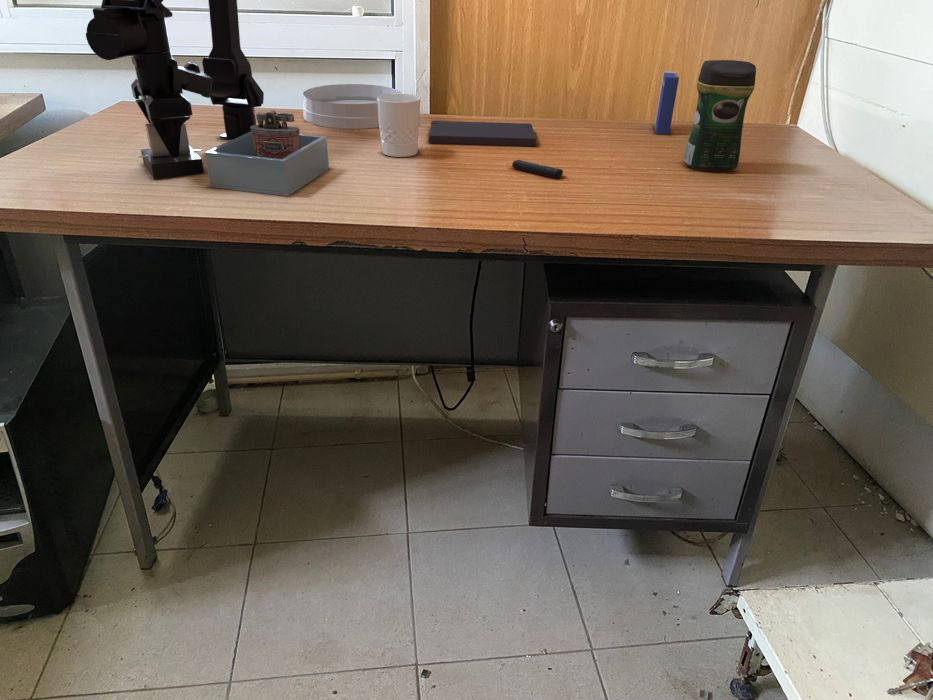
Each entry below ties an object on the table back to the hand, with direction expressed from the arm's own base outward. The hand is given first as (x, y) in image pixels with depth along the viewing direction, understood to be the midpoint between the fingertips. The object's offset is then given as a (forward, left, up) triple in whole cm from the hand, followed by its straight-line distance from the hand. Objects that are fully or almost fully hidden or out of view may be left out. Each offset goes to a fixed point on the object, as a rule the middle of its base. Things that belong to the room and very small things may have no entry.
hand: (169, 150), depth 118 cm
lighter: (-2, +19, -3) cm, 19 cm away
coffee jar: (-34, +90, -3) cm, 96 cm away
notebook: (-40, +45, -3) cm, 60 cm away
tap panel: (0, 0, -3) cm, 3 cm away
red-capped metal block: (0, 0, -1) cm, 1 cm away
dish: (-47, +14, -3) cm, 49 cm away
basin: (-1, +18, -3) cm, 18 cm away
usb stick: (-19, +60, -3) cm, 63 cm away
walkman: (-60, +81, -3) cm, 101 cm away
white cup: (-23, +33, -3) cm, 40 cm away
